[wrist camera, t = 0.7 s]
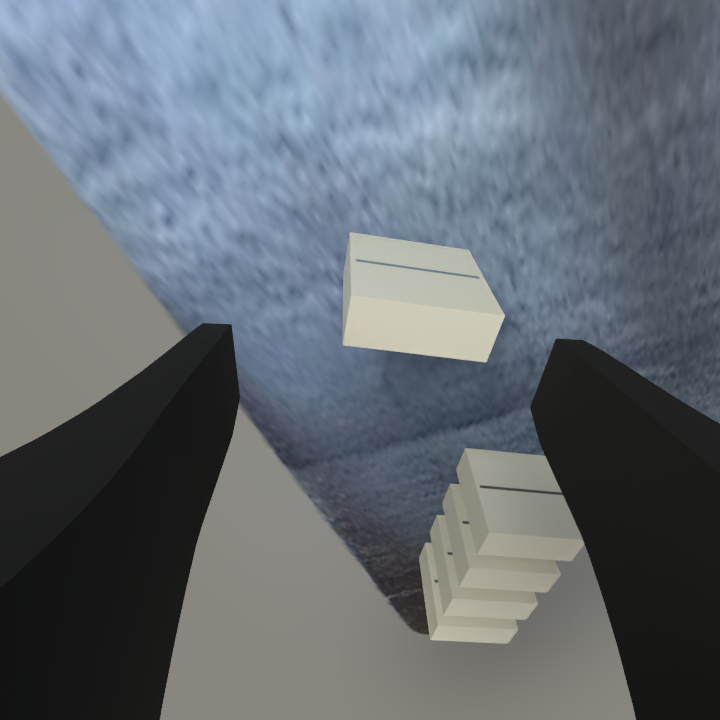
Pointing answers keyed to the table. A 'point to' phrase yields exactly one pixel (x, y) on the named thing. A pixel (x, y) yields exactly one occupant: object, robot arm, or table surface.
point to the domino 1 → (417, 299)
